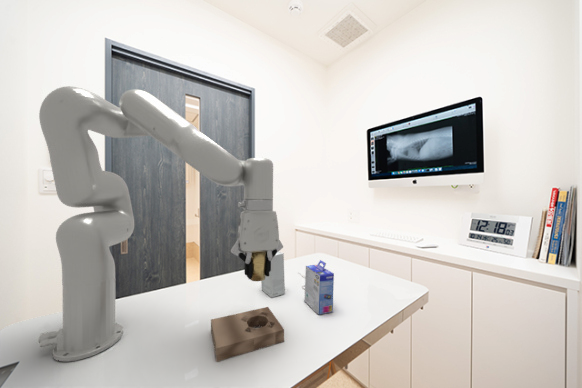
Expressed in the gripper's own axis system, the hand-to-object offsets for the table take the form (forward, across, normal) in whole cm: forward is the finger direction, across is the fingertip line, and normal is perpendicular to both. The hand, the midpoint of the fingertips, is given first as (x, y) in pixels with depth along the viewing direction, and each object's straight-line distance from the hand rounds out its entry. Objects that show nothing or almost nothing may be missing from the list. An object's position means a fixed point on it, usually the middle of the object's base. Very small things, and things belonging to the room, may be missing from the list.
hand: (257, 275), depth 59 cm
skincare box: (+15, +12, +21) cm, 29 cm away
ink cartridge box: (+15, +22, +5) cm, 27 cm away
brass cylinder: (+1, 0, 0) cm, 1 cm away
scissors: (+16, +30, +25) cm, 42 cm away
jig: (+15, -3, 0) cm, 16 cm away
